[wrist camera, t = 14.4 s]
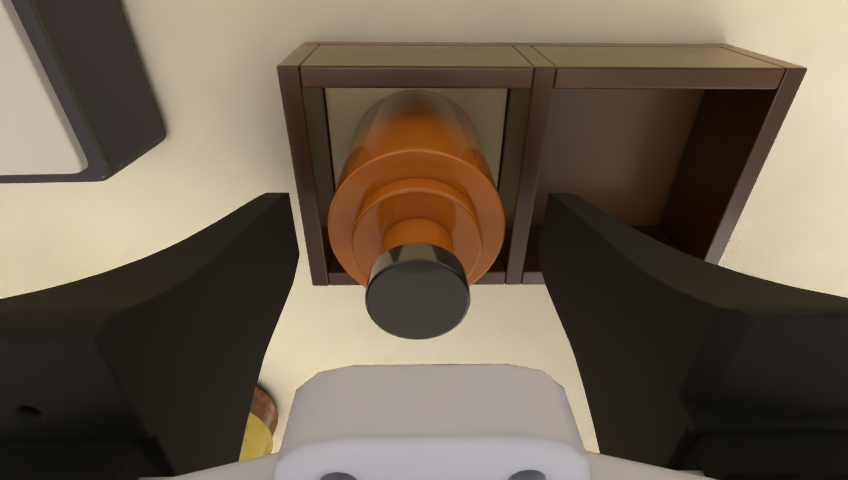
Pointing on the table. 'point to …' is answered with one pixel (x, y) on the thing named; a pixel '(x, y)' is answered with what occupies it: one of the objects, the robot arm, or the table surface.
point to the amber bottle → (416, 213)
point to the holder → (556, 132)
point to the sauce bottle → (259, 427)
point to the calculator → (71, 92)
